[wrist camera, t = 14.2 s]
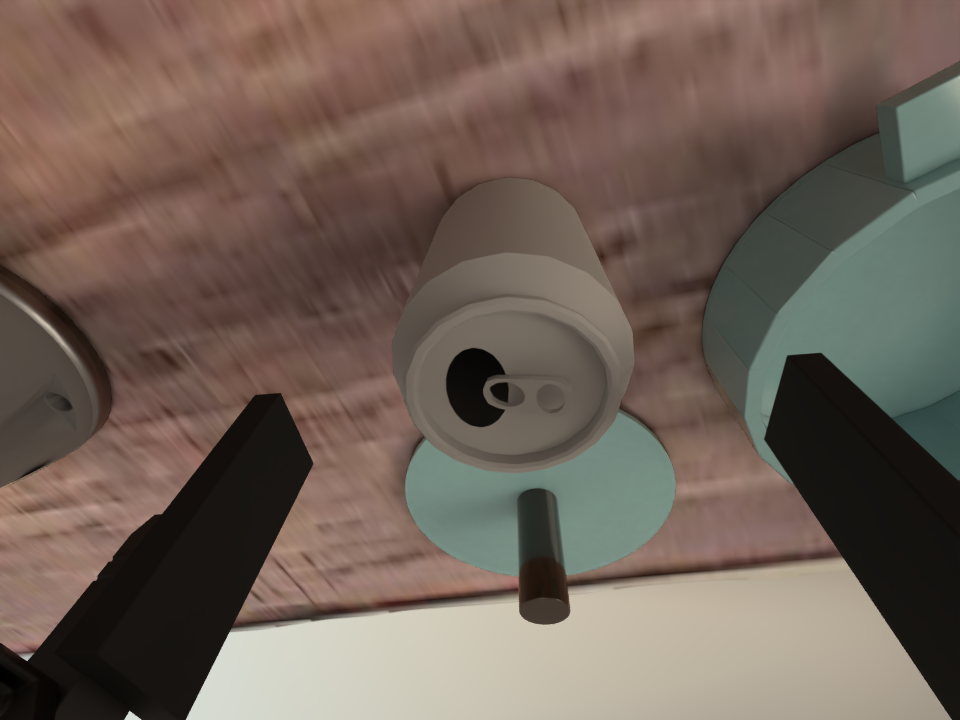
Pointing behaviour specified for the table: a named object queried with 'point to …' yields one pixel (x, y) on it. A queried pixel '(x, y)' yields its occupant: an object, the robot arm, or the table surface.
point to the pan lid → (546, 512)
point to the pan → (856, 278)
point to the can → (512, 333)
